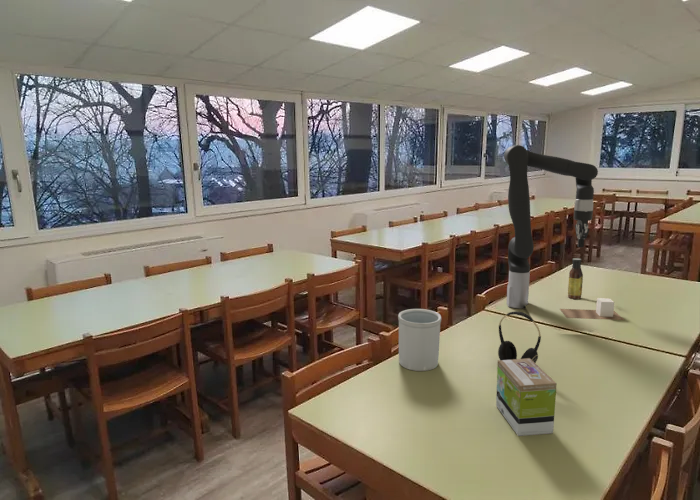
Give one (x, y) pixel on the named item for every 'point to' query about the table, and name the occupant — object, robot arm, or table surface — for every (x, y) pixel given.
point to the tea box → (526, 396)
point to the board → (588, 314)
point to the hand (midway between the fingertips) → (580, 247)
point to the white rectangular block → (605, 307)
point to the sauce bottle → (575, 280)
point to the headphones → (508, 348)
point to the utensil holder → (419, 339)
